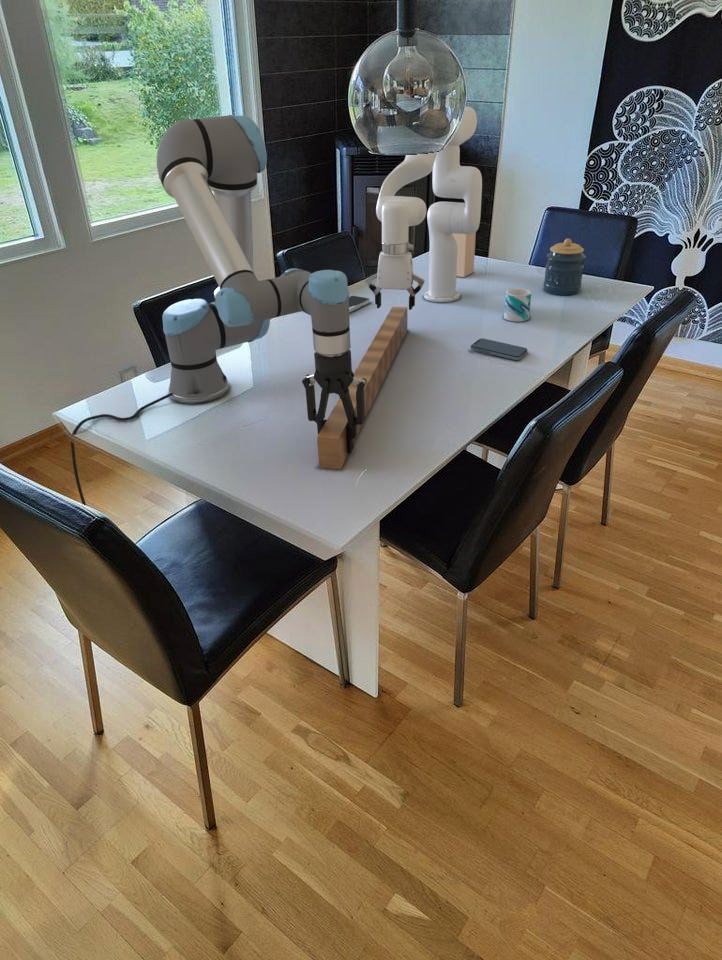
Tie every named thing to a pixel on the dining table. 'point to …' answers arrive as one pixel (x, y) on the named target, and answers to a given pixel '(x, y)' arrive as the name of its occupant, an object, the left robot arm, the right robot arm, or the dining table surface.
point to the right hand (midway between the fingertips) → (394, 307)
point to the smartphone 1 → (357, 302)
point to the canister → (564, 268)
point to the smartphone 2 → (499, 349)
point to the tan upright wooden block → (465, 253)
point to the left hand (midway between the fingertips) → (338, 449)
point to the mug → (517, 304)
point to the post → (374, 372)
